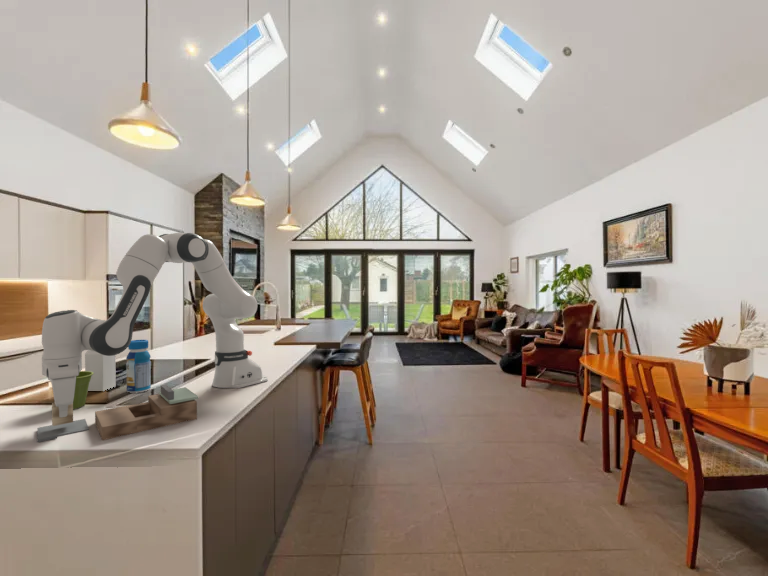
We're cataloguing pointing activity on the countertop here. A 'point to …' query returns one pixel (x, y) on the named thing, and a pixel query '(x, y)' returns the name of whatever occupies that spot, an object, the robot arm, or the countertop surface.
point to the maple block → (58, 420)
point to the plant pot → (81, 388)
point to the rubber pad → (61, 430)
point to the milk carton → (100, 371)
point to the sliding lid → (177, 394)
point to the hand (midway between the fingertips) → (62, 413)
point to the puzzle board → (143, 416)
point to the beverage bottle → (138, 367)
